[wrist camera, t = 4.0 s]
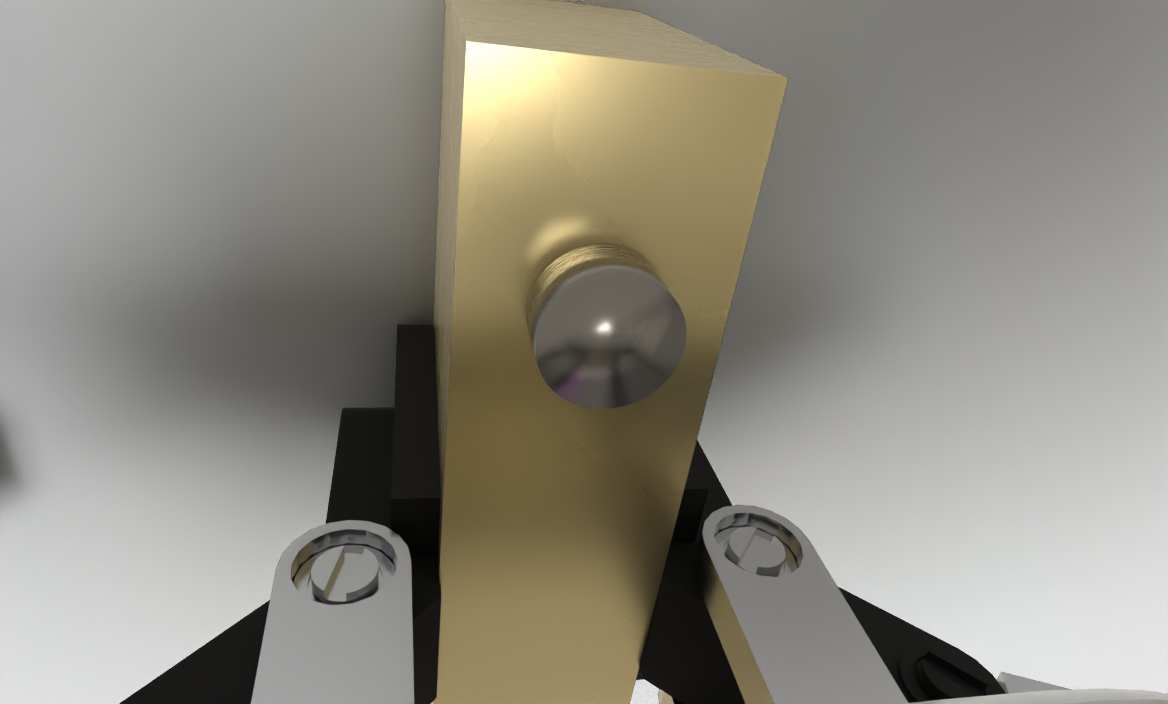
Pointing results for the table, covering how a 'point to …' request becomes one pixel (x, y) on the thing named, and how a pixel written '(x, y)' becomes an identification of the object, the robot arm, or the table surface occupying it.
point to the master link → (577, 327)
